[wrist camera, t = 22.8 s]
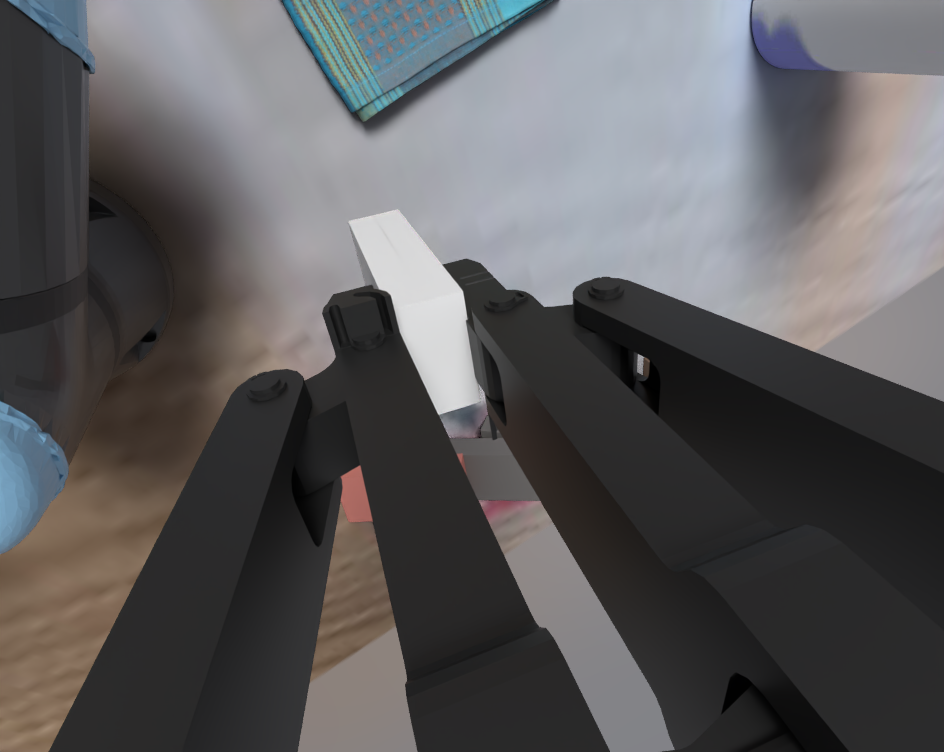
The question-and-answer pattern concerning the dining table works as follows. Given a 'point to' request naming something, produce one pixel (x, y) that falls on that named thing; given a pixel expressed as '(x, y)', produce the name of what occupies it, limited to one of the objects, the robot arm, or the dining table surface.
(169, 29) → the dining table surface
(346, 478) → the red domino
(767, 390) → the robot arm
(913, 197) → the dining table surface
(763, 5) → the container
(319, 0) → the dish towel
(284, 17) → the dining table surface
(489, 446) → the domino
